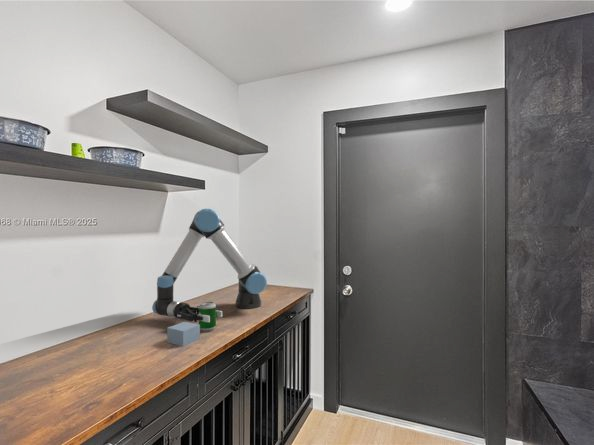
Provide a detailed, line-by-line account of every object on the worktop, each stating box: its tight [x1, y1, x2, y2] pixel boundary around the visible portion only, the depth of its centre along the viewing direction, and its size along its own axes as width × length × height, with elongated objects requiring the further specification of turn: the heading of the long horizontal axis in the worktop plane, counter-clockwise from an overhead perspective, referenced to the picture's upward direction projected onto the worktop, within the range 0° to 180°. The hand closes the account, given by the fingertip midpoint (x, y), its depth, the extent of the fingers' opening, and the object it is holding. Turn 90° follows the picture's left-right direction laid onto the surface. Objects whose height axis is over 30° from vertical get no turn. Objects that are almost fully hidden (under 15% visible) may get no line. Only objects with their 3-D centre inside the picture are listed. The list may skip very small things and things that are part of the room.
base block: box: [166, 321, 201, 347], centre depth 131 cm, size 9×9×6 cm
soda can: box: [198, 301, 217, 333], centre depth 145 cm, size 8×8×12 cm
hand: (215, 316), depth 143 cm, fingers open, 8 cm apart
